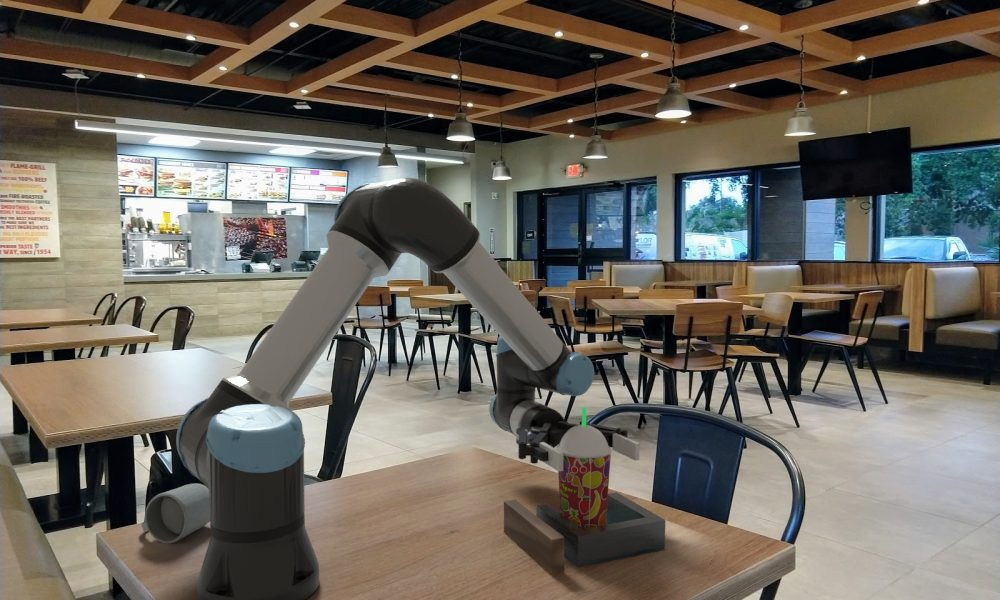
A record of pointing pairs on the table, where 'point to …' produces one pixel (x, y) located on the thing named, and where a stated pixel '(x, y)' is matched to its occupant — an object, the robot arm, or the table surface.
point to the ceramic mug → (177, 513)
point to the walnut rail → (534, 536)
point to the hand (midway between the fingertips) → (600, 457)
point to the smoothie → (584, 475)
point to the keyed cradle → (608, 532)
